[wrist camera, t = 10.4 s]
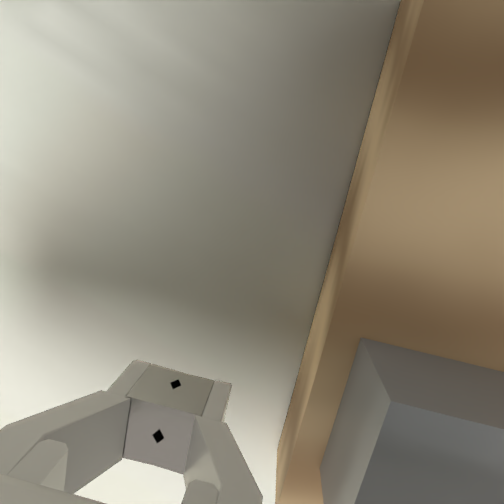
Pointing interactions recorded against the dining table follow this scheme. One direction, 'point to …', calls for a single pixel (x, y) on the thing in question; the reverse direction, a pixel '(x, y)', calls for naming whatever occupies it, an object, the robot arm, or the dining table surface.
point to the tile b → (416, 431)
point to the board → (412, 223)
